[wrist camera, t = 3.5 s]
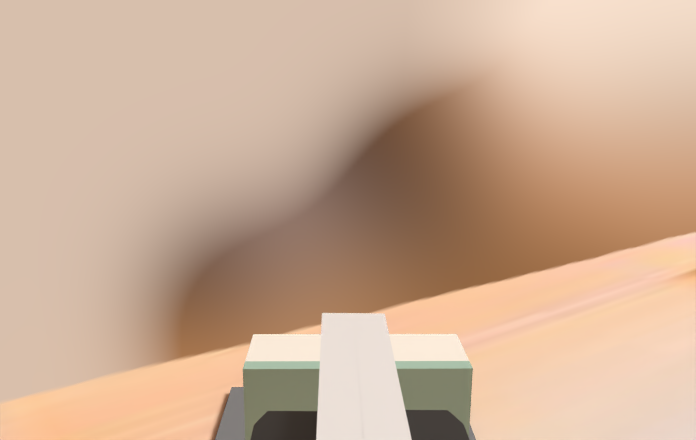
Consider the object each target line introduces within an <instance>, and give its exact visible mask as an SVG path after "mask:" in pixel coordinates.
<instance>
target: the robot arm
mask: <svg viewBox="0 0 696 440" xmlns="http://www.w3.org/2000/svg"><path fill="white" fill-rule="evenodd" d="M250 440H469V437H468V434H467V432H466V429H465V426H464V424H463V423H462V422H461V421H460V420H458V419H457V418H456V417H455V416H454V415H453V414H452V413H451V412H449V411H448V410H405V406H404V402H403V397H402V392H401V388H400V383H399V378H398V374H397V369H396V364H395V360H394V355H393V351H392V346H391V341H390V337H389V332H388V327H387V323H386V318H385V314H366V313H359V314H358V313H322V326H321V348H320V369H319V390H318V411H267V412H266V413H265V414H264V415H263V416H262V417H261V418H260V419H259V420H258V421H257V422H256V423H255V424H254V426H253V431H252V435H251V439H250Z"/></svg>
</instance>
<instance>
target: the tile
mask: <svg viewBox="0 0 696 440" xmlns="http://www.w3.org/2000/svg"><path fill="white" fill-rule="evenodd" d="M389 337H390V341H391V346H392V351H393V355H394V360H395V364H396V369H397V374H398V378H399V383H400V388H401V392H402V397H403V402H404V406H405V410H448V411H449V412H451V413H452V414H453V415H454V416H455V417H456V418H457V419H458V420H460V421H461V422H462V423H463V424H464V426H465V429H466V432H467V434H468V437H469V424H470V406H471V389H472V371H473V368H472V366H471V364H470V362H469V360H468V357H467V355H466V353H465V351H464V349H463V347H462V344H461V342H460V340H459V338H458V336H457V334H389ZM320 348H321V334H254V335H253V337H252V341H251V344H250V347H249V351H248V354H247V357H246V361H245V364H244V367H243V386H244V418H245V440H250V439H251V435H252V431H253V426H254V424H255V423H256V422H257V421H258V420H259V419H260V418H261V417H262V416H263V415H264V414H265V413H266V412H267V411H318V390H319V369H320Z"/></svg>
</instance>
